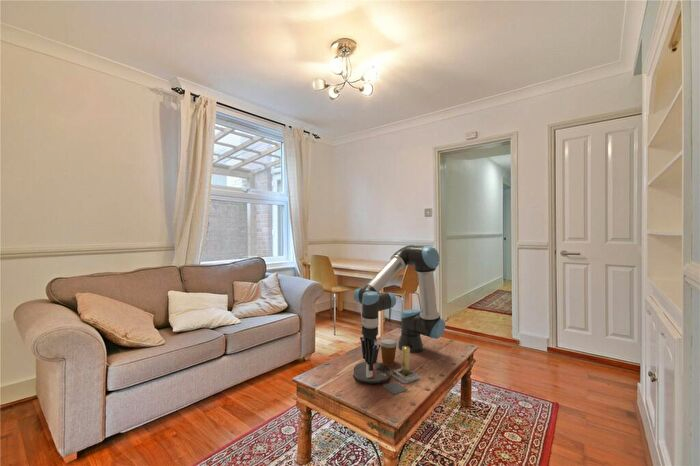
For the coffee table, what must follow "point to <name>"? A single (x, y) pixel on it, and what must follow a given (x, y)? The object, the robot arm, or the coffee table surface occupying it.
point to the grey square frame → (405, 379)
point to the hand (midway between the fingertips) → (369, 376)
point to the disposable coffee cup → (388, 350)
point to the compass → (379, 373)
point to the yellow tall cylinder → (405, 360)
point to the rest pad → (395, 388)
